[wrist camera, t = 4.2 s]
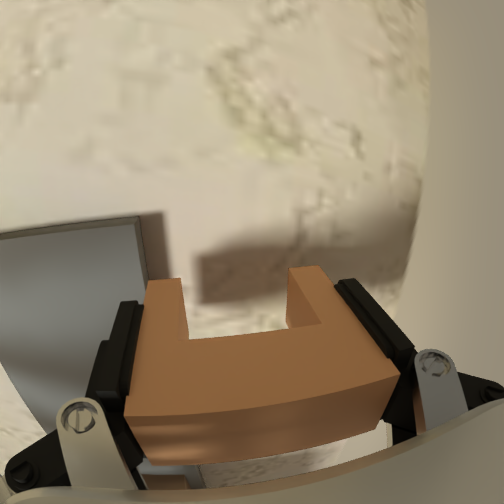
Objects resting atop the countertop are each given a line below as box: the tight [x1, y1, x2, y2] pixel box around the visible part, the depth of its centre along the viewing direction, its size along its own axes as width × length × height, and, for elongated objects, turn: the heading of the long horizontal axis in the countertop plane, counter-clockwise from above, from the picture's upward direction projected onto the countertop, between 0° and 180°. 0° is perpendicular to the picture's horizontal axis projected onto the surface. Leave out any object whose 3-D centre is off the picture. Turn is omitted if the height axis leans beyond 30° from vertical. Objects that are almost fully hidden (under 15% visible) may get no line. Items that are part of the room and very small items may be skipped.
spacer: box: [124, 265, 400, 466], centre depth 9 cm, size 2×6×6 cm, turn 92°
